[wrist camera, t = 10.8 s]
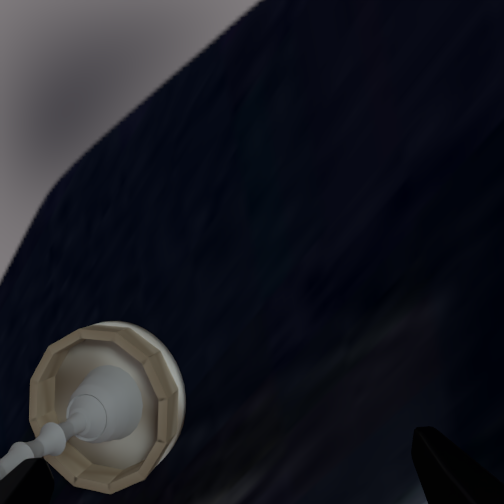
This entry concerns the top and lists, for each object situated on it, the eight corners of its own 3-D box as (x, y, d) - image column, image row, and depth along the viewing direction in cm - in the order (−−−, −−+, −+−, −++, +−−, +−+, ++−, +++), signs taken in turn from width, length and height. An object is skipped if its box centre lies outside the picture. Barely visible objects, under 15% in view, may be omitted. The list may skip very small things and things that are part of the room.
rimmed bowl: (183, 485, 23) (167, 510, 20) (52, 458, 25) (24, 478, 23) (188, 326, 23) (172, 333, 21) (56, 316, 25) (29, 321, 23)
